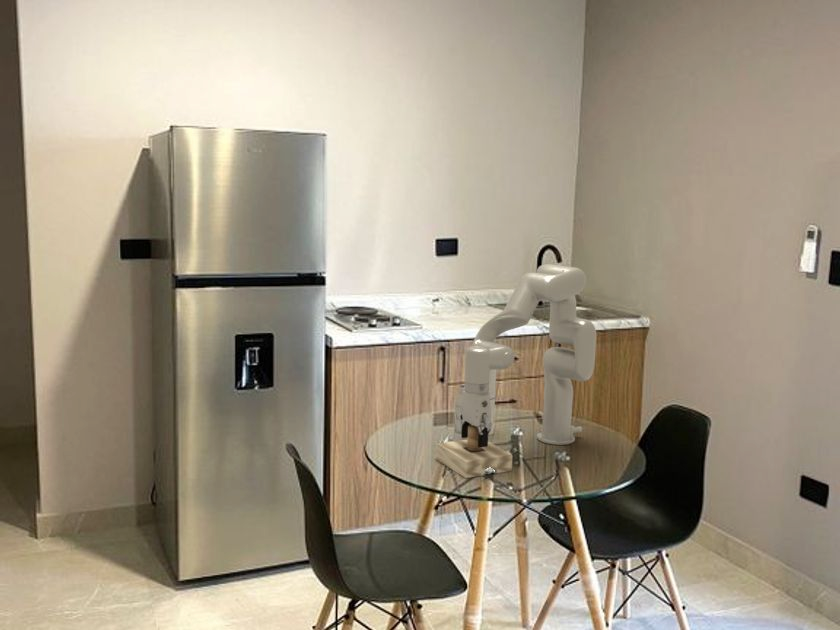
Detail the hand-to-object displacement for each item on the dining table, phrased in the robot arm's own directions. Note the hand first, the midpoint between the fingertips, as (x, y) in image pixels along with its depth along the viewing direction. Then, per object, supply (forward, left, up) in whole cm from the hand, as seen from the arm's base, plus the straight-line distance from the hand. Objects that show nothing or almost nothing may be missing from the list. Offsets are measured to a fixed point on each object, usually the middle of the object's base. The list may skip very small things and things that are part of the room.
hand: (474, 441), depth 260 cm
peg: (0, 0, -7) cm, 7 cm away
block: (0, 0, -7) cm, 7 cm away
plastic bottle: (-6, -17, -7) cm, 20 cm away
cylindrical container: (-20, -27, -7) cm, 34 cm away
